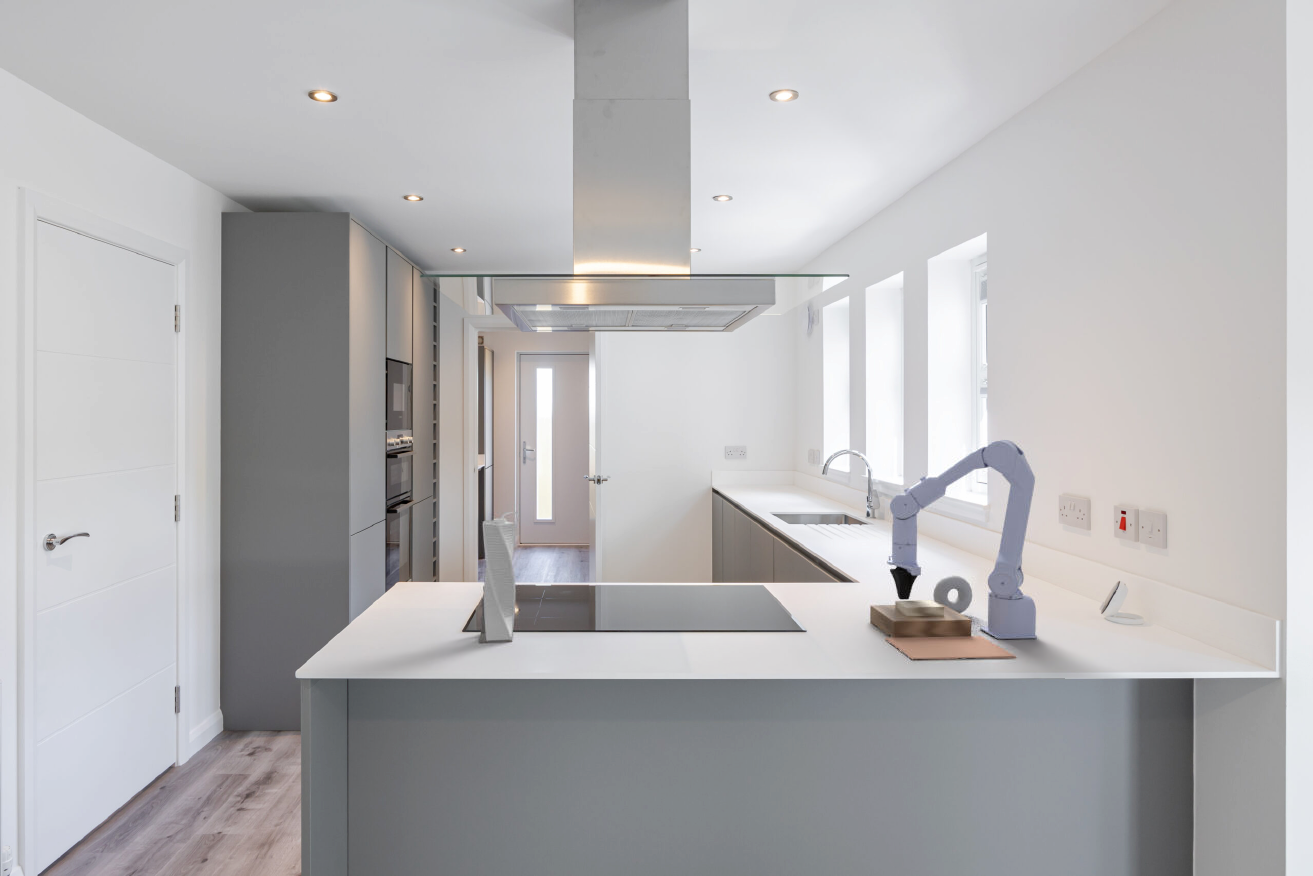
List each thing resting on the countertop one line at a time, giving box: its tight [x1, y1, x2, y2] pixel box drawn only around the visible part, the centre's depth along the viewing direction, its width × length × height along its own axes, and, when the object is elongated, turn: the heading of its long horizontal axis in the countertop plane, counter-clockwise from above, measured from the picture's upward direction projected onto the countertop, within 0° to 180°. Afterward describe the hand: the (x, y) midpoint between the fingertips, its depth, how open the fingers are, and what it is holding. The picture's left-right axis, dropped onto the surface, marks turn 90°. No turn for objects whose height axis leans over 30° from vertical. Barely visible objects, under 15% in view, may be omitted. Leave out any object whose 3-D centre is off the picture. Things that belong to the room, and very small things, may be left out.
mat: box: [884, 635, 1016, 661], centre depth 160 cm, size 22×14×1 cm, turn 95°
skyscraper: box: [478, 510, 520, 644], centre depth 165 cm, size 8×8×28 cm
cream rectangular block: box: [894, 599, 944, 616], centre depth 174 cm, size 9×6×2 cm, turn 95°
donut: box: [932, 574, 973, 614], centre depth 188 cm, size 10×4×10 cm, turn 99°
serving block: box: [869, 604, 973, 638], centre depth 175 cm, size 18×14×4 cm
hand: (903, 598), depth 183 cm, fingers closed
